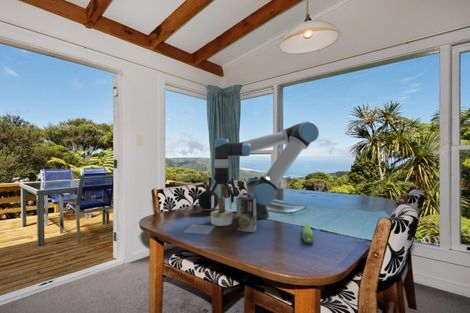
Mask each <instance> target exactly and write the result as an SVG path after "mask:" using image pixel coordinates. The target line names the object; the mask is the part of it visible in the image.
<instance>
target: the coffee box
mask: <svg viewBox="0 0 470 313" xmlns="http://www.w3.org/2000/svg"><path fill="white" fill-rule="evenodd" d="M235 201H236V202H235V204H236V207H235V208H236V210H235V211H236V230H237V231H241V232H244V233H245V232H246V233H255V231H257V220H258V219H256V198H254V197H247V196H239V197H238V198H236V200H235Z"/></svg>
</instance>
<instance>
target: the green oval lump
mask: <svg viewBox="0 0 470 313" xmlns="http://www.w3.org/2000/svg"><path fill="white" fill-rule="evenodd" d="M313 233H314V232H313V230H312V228H311V227H310V225H309V224H308V223H304V225H303V227H302V233H301V234H302V235H301V236H302V240H303V241H304V242H305V243H306V244H312V243H313V241H314V239H315V236H314V234H313Z"/></svg>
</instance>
